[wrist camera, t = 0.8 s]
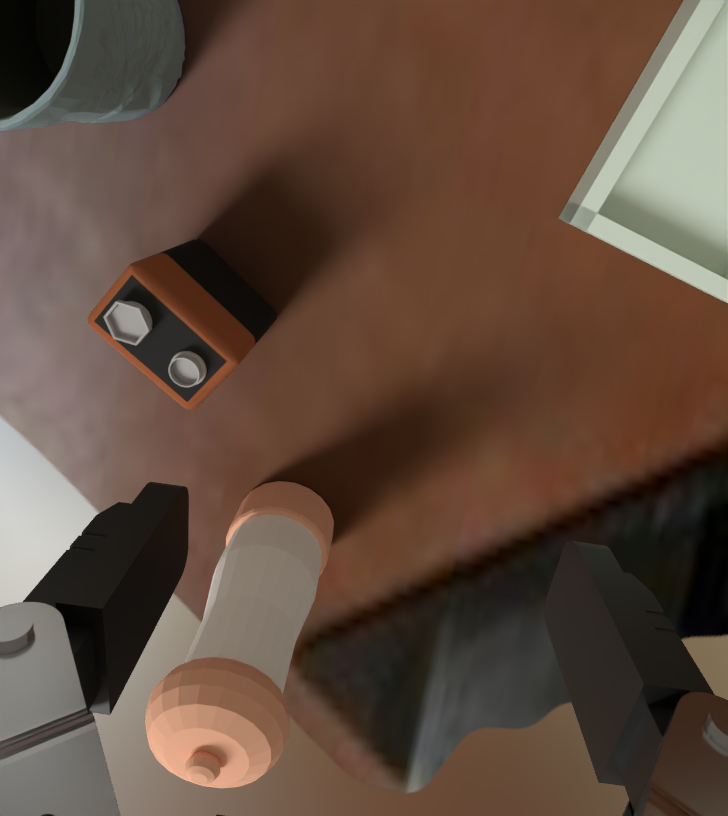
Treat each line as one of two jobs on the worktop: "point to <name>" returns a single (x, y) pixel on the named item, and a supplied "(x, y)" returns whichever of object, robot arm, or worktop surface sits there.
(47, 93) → the teal cup
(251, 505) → the salt shaker
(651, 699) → the robot arm
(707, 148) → the tray
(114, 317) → the battery
